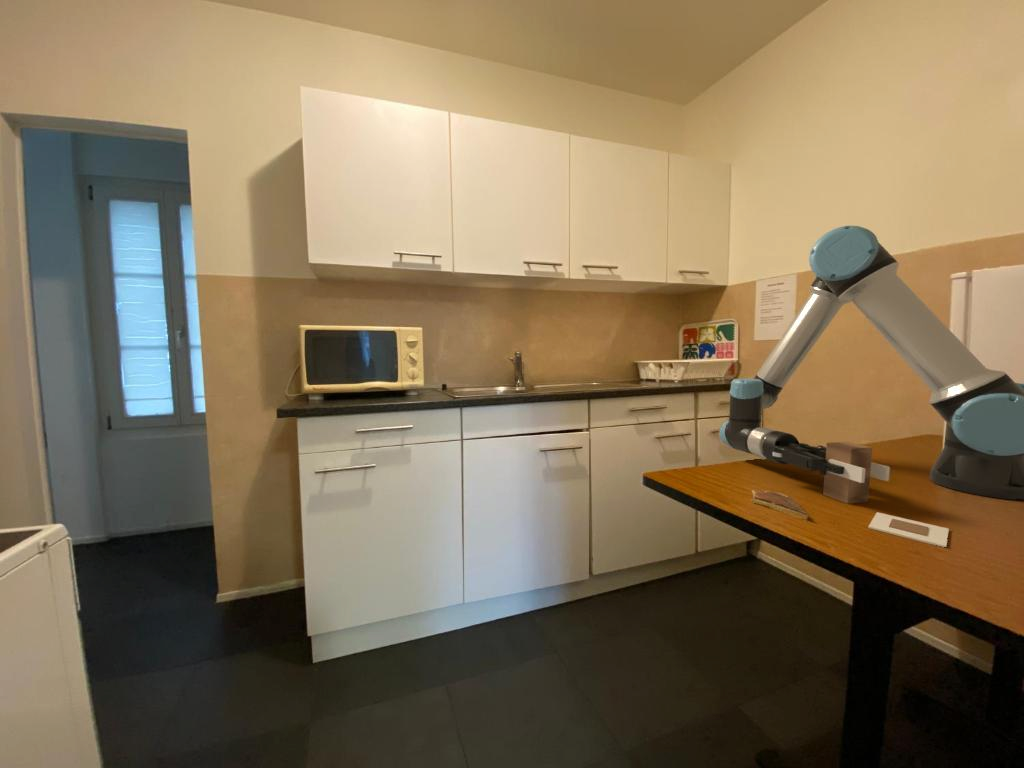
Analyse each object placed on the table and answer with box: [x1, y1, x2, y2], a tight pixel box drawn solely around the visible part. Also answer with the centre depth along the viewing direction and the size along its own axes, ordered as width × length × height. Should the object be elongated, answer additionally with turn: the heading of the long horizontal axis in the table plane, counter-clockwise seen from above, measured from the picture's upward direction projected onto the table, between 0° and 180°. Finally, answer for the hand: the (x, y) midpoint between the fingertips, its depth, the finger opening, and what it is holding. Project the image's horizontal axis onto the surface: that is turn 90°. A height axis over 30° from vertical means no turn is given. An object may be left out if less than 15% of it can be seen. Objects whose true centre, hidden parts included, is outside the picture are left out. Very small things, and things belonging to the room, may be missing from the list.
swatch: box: [867, 511, 950, 548], centre depth 68 cm, size 9×9×1 cm
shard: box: [750, 489, 810, 521], centre depth 77 cm, size 11×8×2 cm
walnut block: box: [822, 441, 873, 504], centre depth 81 cm, size 5×5×11 cm
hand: (875, 474), depth 76 cm, fingers closed on walnut block, 5 cm apart
